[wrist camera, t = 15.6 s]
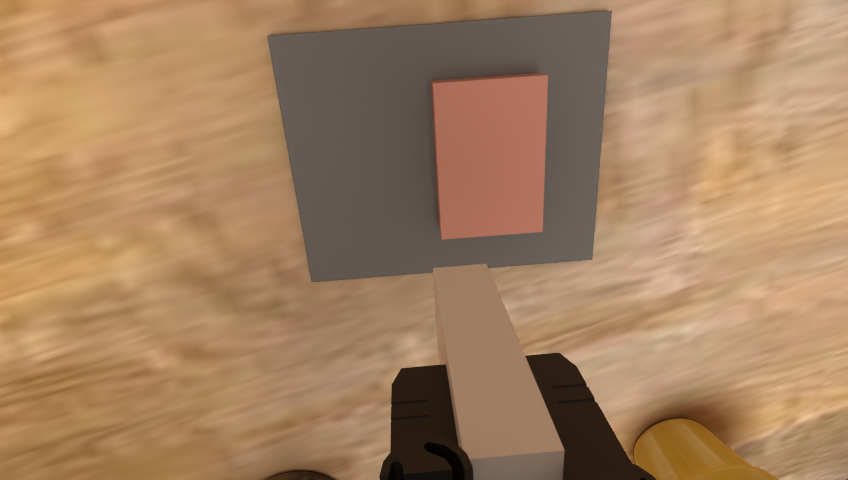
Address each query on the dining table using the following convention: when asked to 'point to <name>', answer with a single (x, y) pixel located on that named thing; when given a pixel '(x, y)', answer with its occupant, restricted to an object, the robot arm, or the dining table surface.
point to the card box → (490, 154)
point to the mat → (432, 138)
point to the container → (300, 476)
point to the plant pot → (691, 454)
